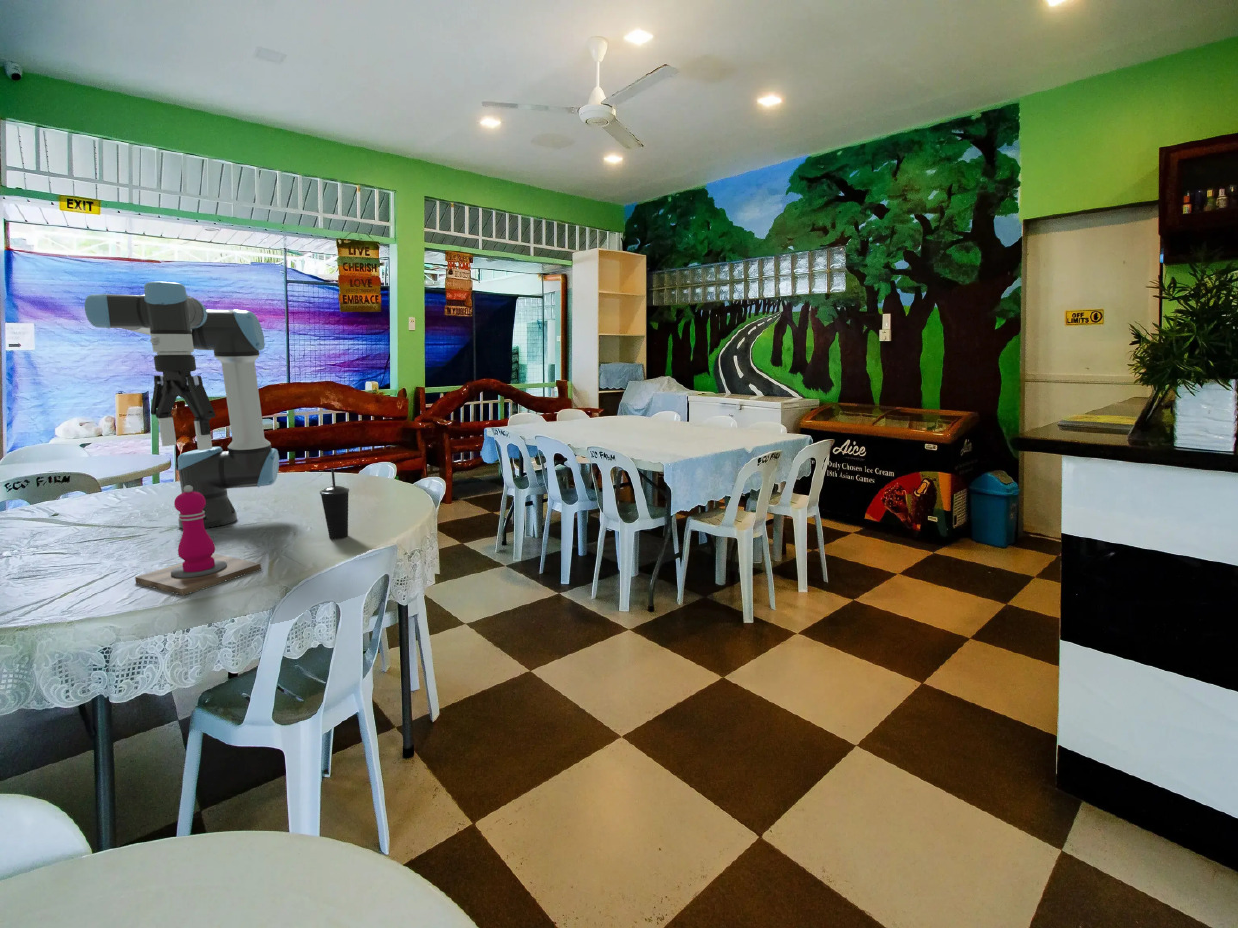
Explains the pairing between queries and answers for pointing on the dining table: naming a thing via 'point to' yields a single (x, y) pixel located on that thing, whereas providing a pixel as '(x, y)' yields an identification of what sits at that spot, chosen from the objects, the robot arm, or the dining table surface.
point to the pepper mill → (194, 532)
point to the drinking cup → (336, 509)
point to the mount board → (197, 575)
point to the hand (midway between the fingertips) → (187, 447)
